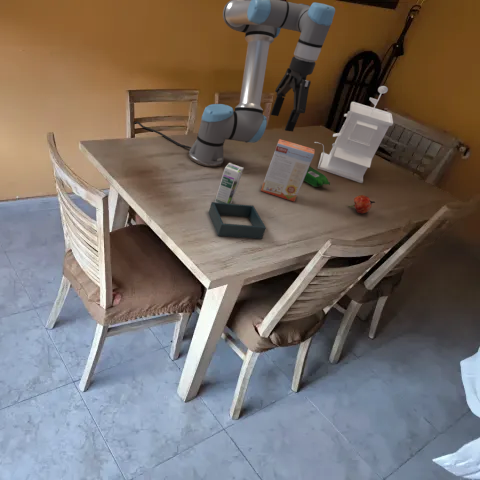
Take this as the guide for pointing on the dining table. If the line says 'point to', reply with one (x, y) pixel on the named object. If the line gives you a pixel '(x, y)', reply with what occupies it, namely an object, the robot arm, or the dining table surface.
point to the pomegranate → (362, 204)
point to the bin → (235, 229)
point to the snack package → (315, 178)
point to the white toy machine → (357, 140)
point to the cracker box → (287, 170)
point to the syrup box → (229, 183)
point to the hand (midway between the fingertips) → (281, 122)
